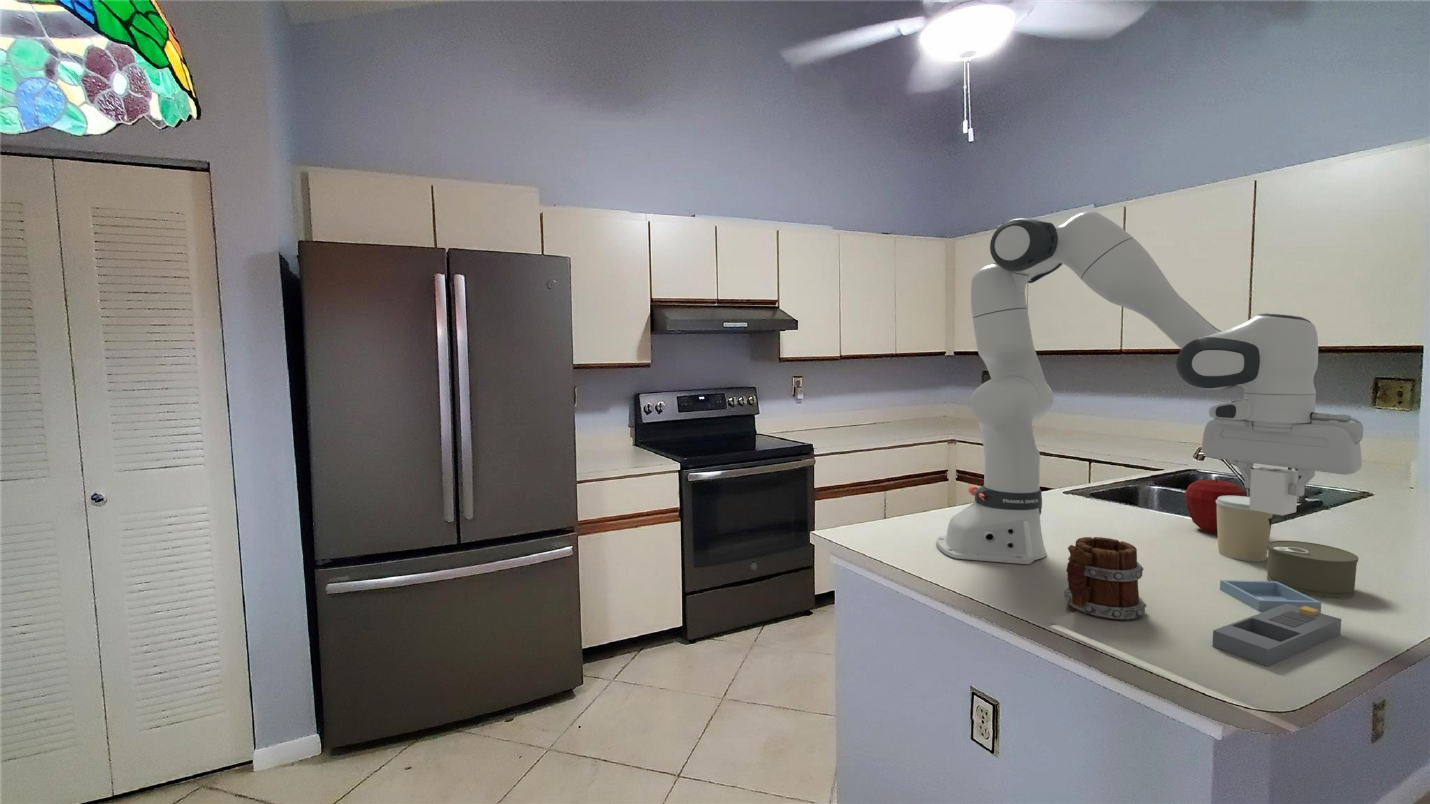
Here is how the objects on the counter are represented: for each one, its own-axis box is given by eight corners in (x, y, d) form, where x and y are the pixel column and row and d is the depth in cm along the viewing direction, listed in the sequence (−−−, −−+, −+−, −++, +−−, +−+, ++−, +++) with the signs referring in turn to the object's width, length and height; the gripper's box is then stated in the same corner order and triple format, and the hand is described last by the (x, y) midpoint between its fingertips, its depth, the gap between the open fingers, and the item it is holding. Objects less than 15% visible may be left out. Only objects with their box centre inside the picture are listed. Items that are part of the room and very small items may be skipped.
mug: (1165, 615, 101) (1159, 530, 98) (1113, 649, 95) (1106, 559, 92) (1094, 591, 111) (1088, 514, 109) (1044, 620, 105) (1036, 539, 103)
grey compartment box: (1267, 672, 83) (1268, 645, 83) (1212, 651, 89) (1213, 626, 89) (1352, 633, 93) (1354, 610, 93) (1298, 617, 99) (1299, 595, 99)
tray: (1258, 615, 100) (1259, 600, 100) (1219, 593, 109) (1220, 580, 109) (1320, 617, 99) (1321, 602, 99) (1275, 595, 108) (1276, 581, 108)
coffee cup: (1283, 564, 124) (1286, 506, 123) (1230, 561, 126) (1233, 505, 125) (1252, 549, 133) (1255, 495, 132) (1203, 547, 135) (1206, 494, 134)
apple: (1250, 541, 138) (1253, 484, 137) (1186, 534, 144) (1188, 479, 143) (1241, 528, 148) (1244, 474, 147) (1181, 522, 154) (1183, 470, 153)
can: (1374, 602, 105) (1377, 563, 104) (1290, 596, 108) (1292, 558, 108) (1326, 577, 117) (1328, 542, 116) (1251, 572, 120) (1253, 538, 119)
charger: (1282, 515, 100) (1284, 473, 99) (1249, 509, 104) (1251, 468, 104) (1296, 512, 102) (1298, 470, 101) (1263, 506, 106) (1265, 466, 105)
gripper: (1373, 414, 94) (1367, 502, 95) (1218, 405, 112) (1214, 479, 113) (1354, 417, 91) (1348, 507, 92) (1198, 407, 109) (1195, 482, 111)
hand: (1273, 491), depth 103 cm, fingers closed on charger, 4 cm apart
